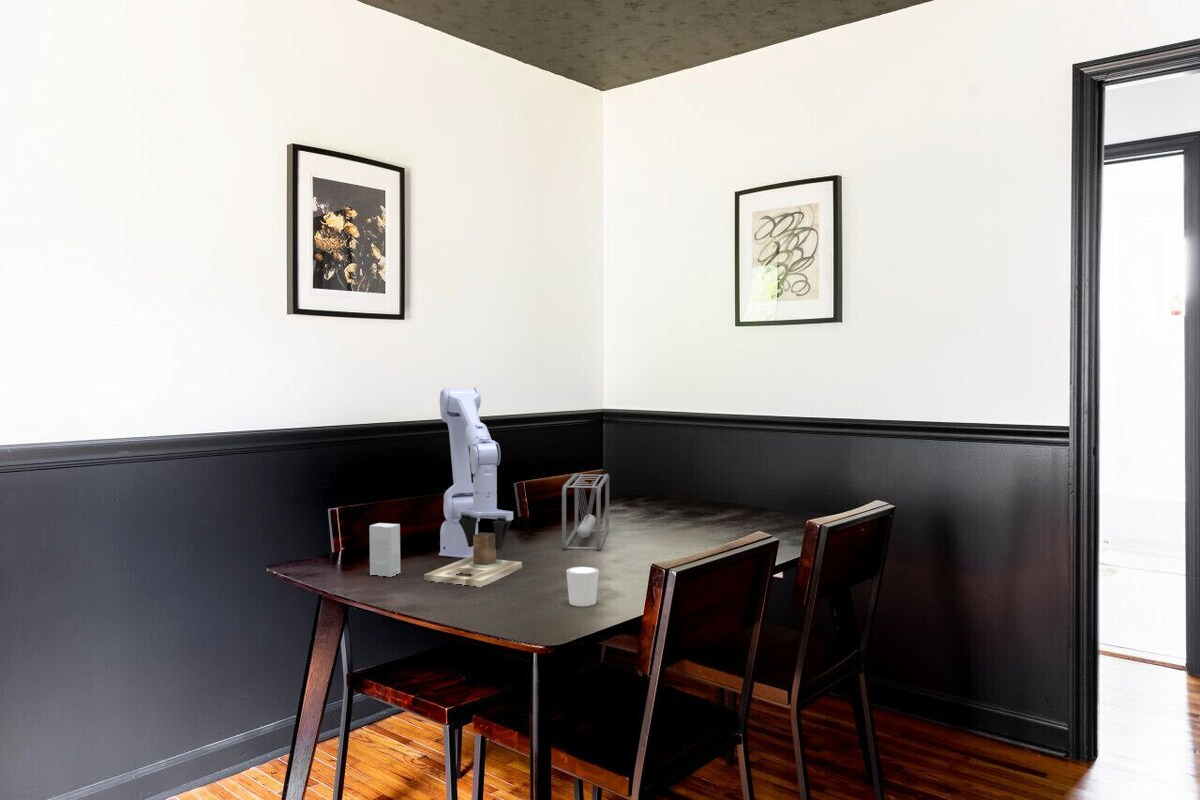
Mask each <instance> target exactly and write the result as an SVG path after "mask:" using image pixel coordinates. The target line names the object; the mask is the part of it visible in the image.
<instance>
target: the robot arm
mask: <svg viewBox="0 0 1200 800" xmlns="http://www.w3.org/2000/svg"><path fill="white" fill-rule="evenodd" d="M481 396H482V395H481V392H480V390H479V389H478V388H477V387H471V388H470V387H469V388H468V387H466V388H447V387H443V388H442V389H441V391H440V394H439V410H440V412H439V413H440V417H441V421H442V422H444V423H446V424H447V427H448V433H449V444H450V446H449V447H450V457H451V467H452V468H451V469H452V470H451V471H452V479H453V485H451V486H450V487H448V489H447V490H445V492H444V494H443V515H444V517H445V520H444V521H443V522H442V524H441V527H440V531H439V534H440V535H439V536H440V541H439V545H440V548H439V549H440V551H439V553H438V556H443V557H454V558H462V559H465V558H467V557H473V535H476V534H479V522H480V521H481V519H490V520H491V519H492V520H494V521H492V526H493V530H494V534H495V548H496V551H499V550H501V549H503V546H504V540H505V537H506V534H507V532H508V530H509V528H510V525H511V524H512V520H514V511H511V510H503V509H498V508H497V507H498V505H497V504H498V500H497V499H498V493H497V491H498V487H497V485H498V483H497V481H498V480H497V479H498V475H497V474H498V472H497V471H498V470H497V469H498V467H497V466H499V465H500V463H501V449H500V448H501V447H500V445H499V442H496V441H495V440H492V438H491V434H490V432H489V430H488V427H487V425H486V424H484V423H483V422H481V420H480V415H479V410H480V407H481V403H482V402H481V401H482V400H481V399H482V398H481ZM472 481H473V482H472Z"/></svg>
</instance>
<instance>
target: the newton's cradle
mask: <svg viewBox="0 0 1200 800" xmlns="http://www.w3.org/2000/svg"><path fill="white" fill-rule="evenodd" d="M601 477H602V478H601ZM594 478H595V480H594V482H593V483H592V484H591V485H588V483H584V481H582V480H583V479H594ZM600 478H601V479H600ZM599 480H600V482H599V483H598V481H599ZM573 482H574V483H573ZM571 484H572V485H571ZM604 484H605V487H604V489H605V491H604V492H605V499H604V500H605V501H604V502H605V503H604V504H605V507H604V508H605V509H604V511H605V513H604V515H605V517H604V518H605V520H604V521H605V522H604V529H601V524H602V523H601V520H602V519H601V516H602V515H601V511H602V509H601V507H602V506H601V502H602V501H601V495H602V494H601V493H602V487H603V486H604ZM569 488H574V528H573V530H572V532H571V534H570V535H569V537H568V538H567V489H569ZM585 488H586V489H591V492H590V496H589V502H588V503H587V502H586V501H587V499H586V492H585ZM595 495H596V496H595ZM595 497H596V498H595ZM595 499H596V502H595ZM594 502H595V503H596V513H595V514H596V517H595V516H594V515H592V513H593V506H594ZM579 504H581V505H579ZM588 504H589V505H588ZM579 513H580V519H581V523H580V524H579ZM595 525H596V527H595ZM594 527H595V528H596V529H594ZM609 530H610V475H609V474H608V473H605V474H582V473H581V474H579V473H577V472H576V473H574V474H572V476H570V478H569V479H568V480H567V481H566V482H565V483H564V484H563V485H562V489H561V546H562V547H561V548H562V550H565V549H566V550H567V549H580V550H582V549H583V550H588V549H589V550H597V551H601V550H602V548H603V545H604V544H605V543H604V542H605V540H606V539H607V538H606V537H607V535H608V533H609ZM591 532H596V533H595V535H596V543H595V544H596V545H595V547H592V546H591V547H589V546H588V547H587V546H583V547H581V546H570V544H571V542H572V541H573V539H574V537H575V536H576V534H577V535H578V536H579V537H580V538H583V539H584V538H585V539H586V538H588V537H589V536H590V535H591ZM602 532H603V533H602ZM601 533H602V535H601Z"/></svg>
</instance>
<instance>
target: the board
mask: <svg viewBox="0 0 1200 800" xmlns="http://www.w3.org/2000/svg"><path fill="white" fill-rule="evenodd" d="M521 569H523V562H522V561H517V560H516V561H515V560H504V559H496V562H495V563H492V564H490V565H479V564H473V557H467V558H462V559H460V560H458V561H455V562H453V563H452V562H451V563H449V564H447V565H444V566H442V567H439V568H437V569H435V570H433V571H432V570H431V571H430V572H427V573H425V574H424V575H423V578H424V580H427V581H426V582H430V581H435V582H434V583H438V582H444V583H443V584H447V583H453V584H452V585H456V584H462V585H461V586H464V585H469V586H468V587H473V586H476V587H477V588H483V587H484V585H485V586H486V585H489V584H491V583H494V582H496V581H498V580H500V579H502V578H504V577H506V576H508V575H510V574H513V573H514V572H517V571H518V570H521ZM459 573H463V574H462V575H460V574H459ZM456 574H458V575H456ZM466 574H471V575H470V576H463V575H466ZM482 586H483V587H482ZM476 587H475V588H476Z"/></svg>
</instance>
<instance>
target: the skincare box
mask: <svg viewBox="0 0 1200 800" xmlns="http://www.w3.org/2000/svg"><path fill="white" fill-rule="evenodd" d="M368 529H369V575H370V576H371V575H378V576H377V577H383V576H386V578H392V576H393V577H395V576H397V575H396V574H398V575H400V574H401V525H400V523H388V522H387V523H386V522H385V523H384V522H378V523H373V524H371V525H369V528H368ZM399 573H400V574H399Z"/></svg>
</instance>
